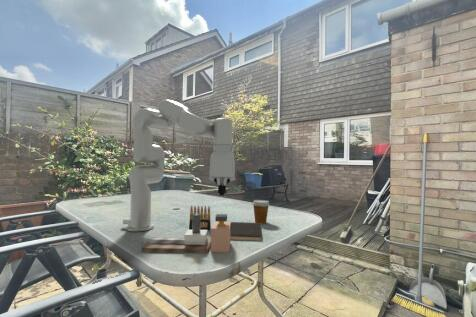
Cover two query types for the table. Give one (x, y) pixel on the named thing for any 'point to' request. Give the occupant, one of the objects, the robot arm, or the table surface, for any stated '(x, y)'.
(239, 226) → the hardcover book
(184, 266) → the table surface
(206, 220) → the ammunition clip
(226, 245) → the pink block
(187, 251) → the rail bed
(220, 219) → the button
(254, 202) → the disposable coffee cup
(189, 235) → the carriage
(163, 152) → the robot arm
